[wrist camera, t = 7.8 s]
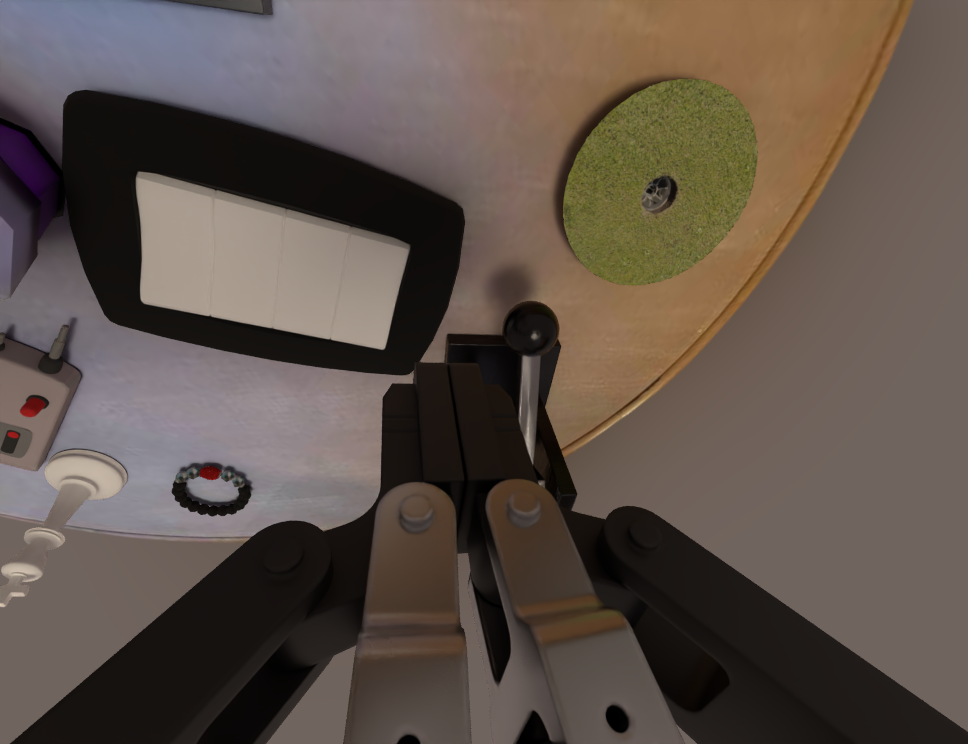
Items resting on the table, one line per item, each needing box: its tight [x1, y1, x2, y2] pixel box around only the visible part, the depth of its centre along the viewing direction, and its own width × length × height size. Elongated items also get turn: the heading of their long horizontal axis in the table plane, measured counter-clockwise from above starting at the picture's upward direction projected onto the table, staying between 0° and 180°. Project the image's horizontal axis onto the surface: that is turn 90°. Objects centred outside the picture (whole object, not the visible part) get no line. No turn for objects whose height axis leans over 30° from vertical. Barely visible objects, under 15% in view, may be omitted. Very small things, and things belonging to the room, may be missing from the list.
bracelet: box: [172, 466, 251, 516], centre depth 37 cm, size 6×6×1 cm
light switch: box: [62, 90, 465, 375], centre depth 26 cm, size 20×3×14 cm
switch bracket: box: [445, 335, 577, 511], centre depth 31 cm, size 10×8×12 cm
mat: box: [563, 79, 758, 285], centre depth 27 cm, size 11×11×2 cm
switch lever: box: [502, 301, 559, 488], centre depth 27 cm, size 13×3×3 cm, turn 173°
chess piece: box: [0, 450, 127, 607], centre depth 31 cm, size 5×5×10 cm
